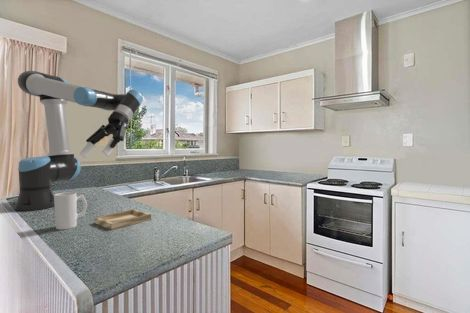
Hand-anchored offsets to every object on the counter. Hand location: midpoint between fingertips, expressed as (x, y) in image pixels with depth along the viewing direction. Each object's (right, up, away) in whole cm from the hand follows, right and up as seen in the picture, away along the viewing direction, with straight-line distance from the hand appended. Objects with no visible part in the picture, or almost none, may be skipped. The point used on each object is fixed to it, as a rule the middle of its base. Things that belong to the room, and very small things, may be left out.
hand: (93, 155), depth 102 cm
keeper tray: (+13, -25, -2) cm, 29 cm away
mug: (-4, -26, -8) cm, 27 cm away
